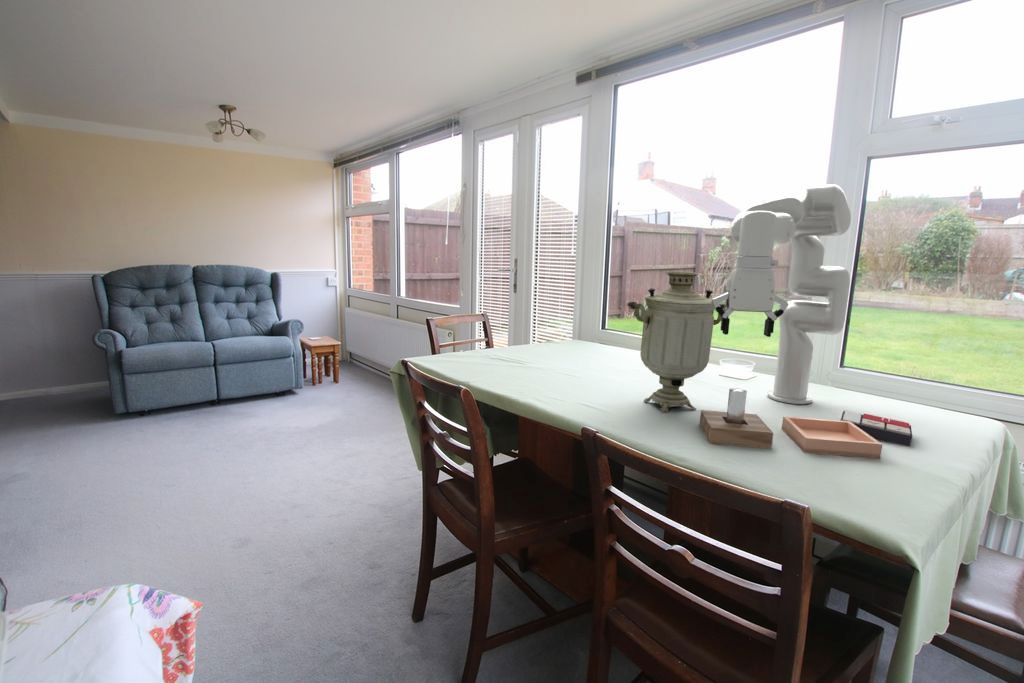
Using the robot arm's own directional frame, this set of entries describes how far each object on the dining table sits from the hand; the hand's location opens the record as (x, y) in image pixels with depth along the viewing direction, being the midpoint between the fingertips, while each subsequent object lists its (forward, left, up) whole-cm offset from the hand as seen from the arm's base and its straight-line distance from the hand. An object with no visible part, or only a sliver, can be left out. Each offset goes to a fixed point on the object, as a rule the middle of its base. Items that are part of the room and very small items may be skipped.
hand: (745, 334), depth 123 cm
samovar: (-25, -13, -26) cm, 38 cm away
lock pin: (0, 0, -26) cm, 26 cm away
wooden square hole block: (0, 0, -26) cm, 26 cm away
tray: (0, +22, -26) cm, 34 cm away
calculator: (-11, +37, -27) cm, 47 cm away
